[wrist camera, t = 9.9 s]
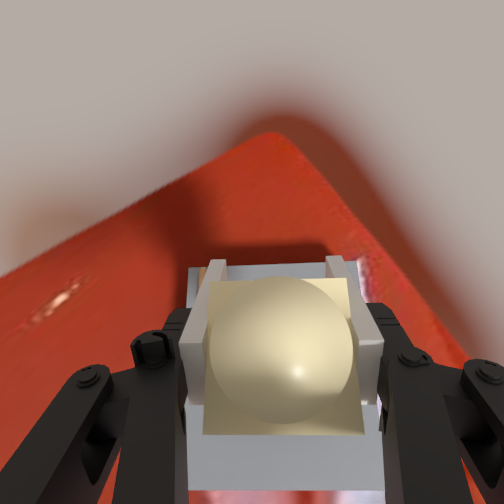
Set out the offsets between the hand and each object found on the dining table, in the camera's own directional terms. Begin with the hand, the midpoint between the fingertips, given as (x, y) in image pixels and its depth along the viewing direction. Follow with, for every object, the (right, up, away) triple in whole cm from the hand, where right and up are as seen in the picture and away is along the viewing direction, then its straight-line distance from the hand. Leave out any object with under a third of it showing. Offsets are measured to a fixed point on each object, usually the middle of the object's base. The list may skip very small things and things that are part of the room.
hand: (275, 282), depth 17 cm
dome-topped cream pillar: (0, -5, +2) cm, 5 cm away
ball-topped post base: (+1, -9, +15) cm, 18 cm away
